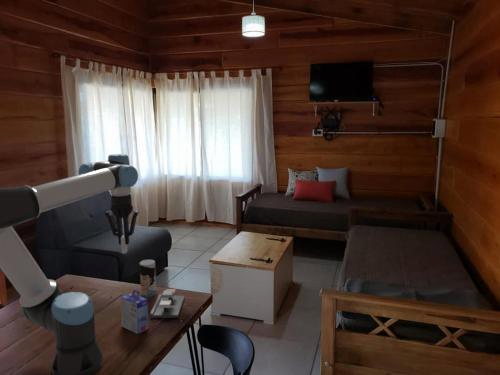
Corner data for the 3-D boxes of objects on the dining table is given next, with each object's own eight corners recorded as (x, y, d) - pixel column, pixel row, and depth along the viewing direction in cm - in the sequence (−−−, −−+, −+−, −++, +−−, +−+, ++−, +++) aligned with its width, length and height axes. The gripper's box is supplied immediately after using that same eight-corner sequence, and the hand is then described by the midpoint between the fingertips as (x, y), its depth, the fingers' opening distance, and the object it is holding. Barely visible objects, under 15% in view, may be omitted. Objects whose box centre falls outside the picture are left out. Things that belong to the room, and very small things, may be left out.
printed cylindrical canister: (142, 290, 177) (140, 260, 174) (156, 289, 178) (155, 259, 176) (140, 297, 171) (138, 265, 168) (156, 296, 172) (154, 264, 169)
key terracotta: (174, 296, 164) (173, 293, 163) (164, 296, 164) (164, 293, 163) (175, 292, 168) (175, 289, 167) (166, 292, 168) (166, 289, 167)
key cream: (169, 307, 154) (169, 304, 154) (159, 307, 154) (159, 304, 154) (171, 303, 158) (171, 299, 158) (161, 303, 158) (161, 299, 157)
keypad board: (177, 317, 153) (177, 312, 153) (150, 317, 153) (150, 312, 152) (184, 298, 170) (184, 292, 169) (159, 298, 170) (159, 293, 169)
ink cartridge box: (149, 328, 145) (148, 293, 143) (138, 335, 141) (135, 298, 138) (133, 320, 151) (131, 286, 148) (121, 326, 147) (119, 291, 144)
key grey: (171, 297, 158) (171, 294, 158) (162, 297, 158) (161, 294, 158) (173, 293, 162) (173, 290, 162) (164, 293, 162) (163, 290, 162)
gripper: (140, 192, 151) (143, 248, 156) (107, 192, 151) (111, 249, 156) (135, 196, 144) (138, 255, 148) (100, 196, 144) (104, 255, 148)
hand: (124, 252), depth 152 cm, fingers closed
